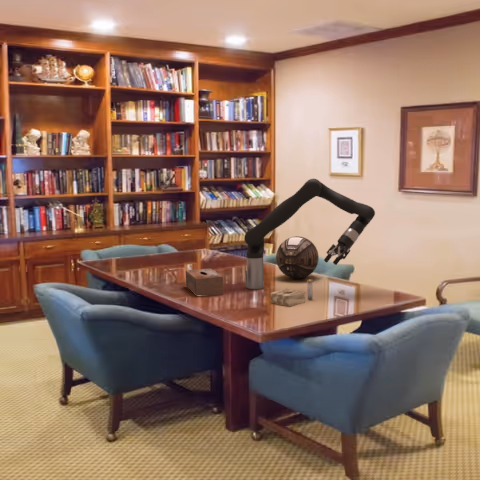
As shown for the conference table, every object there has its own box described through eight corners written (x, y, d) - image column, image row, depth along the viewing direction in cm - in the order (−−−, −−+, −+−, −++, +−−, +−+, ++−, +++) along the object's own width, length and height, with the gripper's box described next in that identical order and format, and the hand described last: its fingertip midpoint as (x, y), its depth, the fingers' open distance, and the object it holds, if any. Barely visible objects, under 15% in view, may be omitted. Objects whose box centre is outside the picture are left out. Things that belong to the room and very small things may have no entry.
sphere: (324, 275, 365) (323, 234, 361) (311, 283, 342) (310, 240, 339) (285, 273, 375) (284, 233, 372) (270, 281, 353) (269, 238, 349)
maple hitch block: (270, 302, 301) (270, 292, 300) (286, 298, 309) (286, 288, 309) (289, 306, 292) (289, 296, 292) (304, 301, 301) (304, 292, 300)
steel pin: (305, 299, 306) (305, 280, 305) (309, 298, 308) (309, 279, 307) (310, 300, 304) (310, 280, 302) (314, 299, 306) (314, 279, 305)
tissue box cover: (223, 295, 321) (222, 276, 320) (196, 297, 317) (196, 278, 316) (210, 285, 346) (210, 268, 344) (186, 287, 341) (185, 270, 340)
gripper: (336, 232, 316) (317, 256, 313) (352, 235, 303) (332, 260, 300) (345, 241, 319) (326, 265, 316) (360, 244, 306) (342, 269, 303)
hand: (329, 262), depth 308 cm, fingers open, 8 cm apart
